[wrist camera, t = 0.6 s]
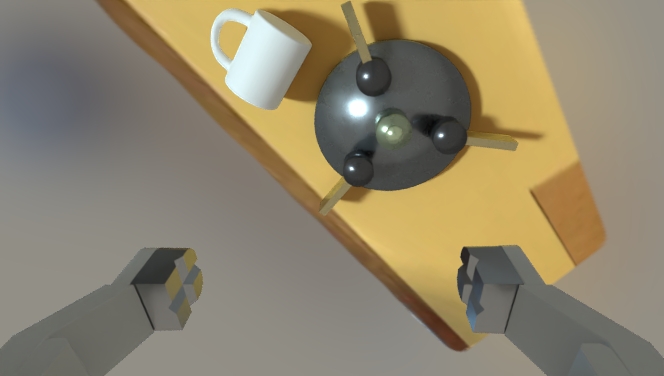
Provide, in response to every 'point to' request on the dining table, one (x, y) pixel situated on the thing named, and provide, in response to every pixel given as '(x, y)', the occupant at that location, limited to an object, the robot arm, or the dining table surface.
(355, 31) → the knob
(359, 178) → the knob
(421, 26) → the dining table surface
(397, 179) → the tribrach plate
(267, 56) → the mug
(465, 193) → the dining table surface
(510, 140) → the knob
